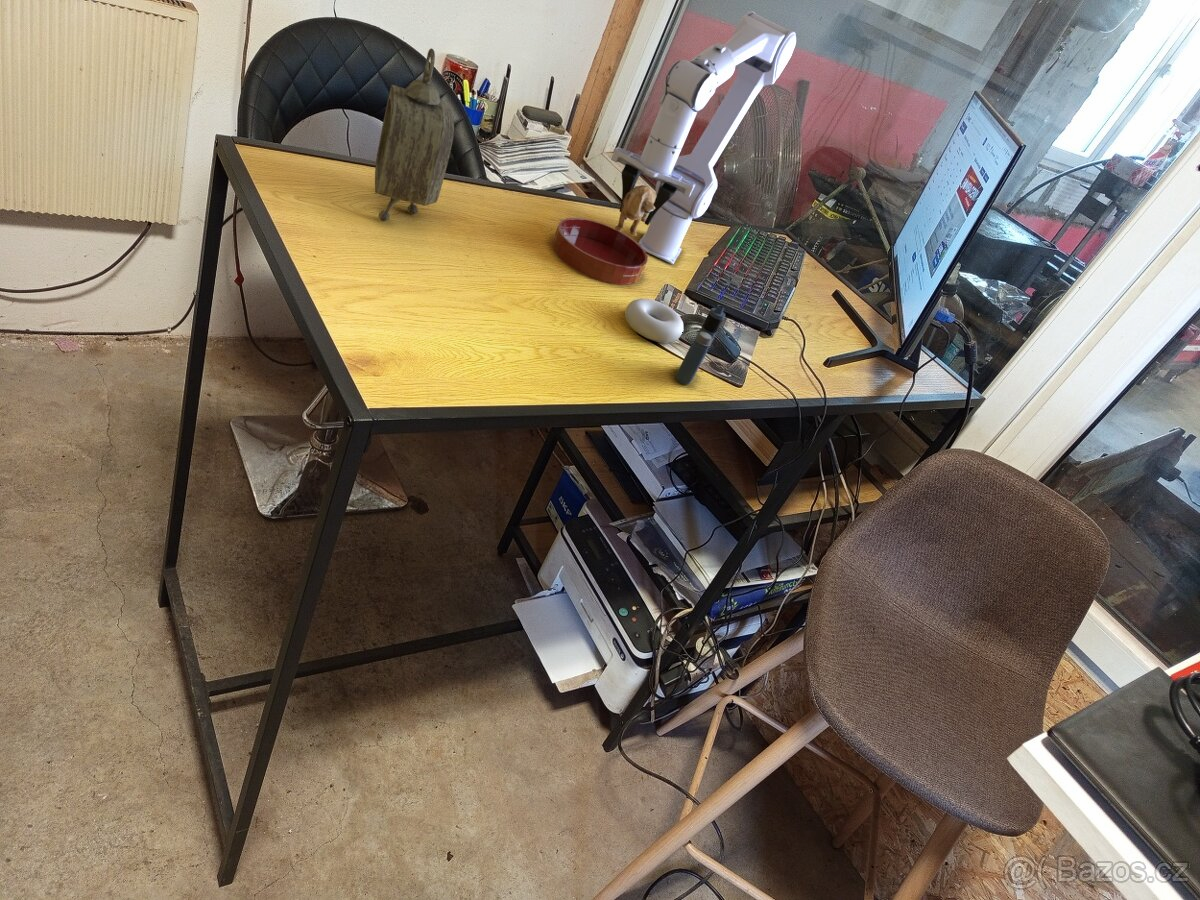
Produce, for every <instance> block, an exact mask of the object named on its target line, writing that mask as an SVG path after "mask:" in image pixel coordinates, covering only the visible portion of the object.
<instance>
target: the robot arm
mask: <svg viewBox="0 0 1200 900" xmlns="http://www.w3.org/2000/svg"><path fill="white" fill-rule="evenodd" d="M796 44H797V35H796V32H795V31H793V30H789V29H787V28H785V27H784V26H781V25H779V24H777V23H775V22H773V21H771V20H769V19H767V18H765V17H763V16H762V15H759V14H758V13H756V12H755V11H753V10H749V11H747V12H746V13H744V14H743V15H742V16H741V17H740V19H739V20H738V22H737V24H736V26H735V29H734V32H733V35H732V37H731V38H730V39H729V40H727V41H726V42H725V43H724V44H722V43H720V42H717V43H715V44H712V45H710V46H709V47H708V48H705V50H703V51H702V52H700V53H699V54H698V55H696V56H694V57H693V58H692V59H691V60H687V59H682V60H676V61H675V62H674V63H673V64H672V65H671V66H670V68H669V70H668V71H667V74H666V75H665V77H664V81H663V83H662V84H663V85H662V93H661V95H660V96H661V97H660V98H659V103H658V105H659V106H660V107H659V110H658V113H657V115H656V117H655V121H654V122H653V125H652V128H651V130H650V133H649V136H648V137H647V141H646V143H645V145H644V148H643V150H642V153H641V155H639V154H638V153H634V152H633V151H632V152H631V151H629V150H626V149H624V148H621V147H619V146H617V147H616V148H614V150H613V153H612V156H611V158H610V160H611V161H612V162H614V163H620V164H622V165H623V169H622V170H621V184H622V185H621V187H622V190H621V191H622V192H621V201H620V208H619V213H621V211H622V204H623V200H624V198H625V195H626V194H627V193H628V192H630V191H631V190H632V189H633V188H635V187H636V184H637V182H638V179H639V178H640V175H641V174H642V175H644V176H646V177H649V178H651V179H653V180H655V181H656V184H655V195H656V196H655V199H654V201H653V205H654V206H655V209H654V210H653V211H651V212H650V213H649V215H647V218H646V221H645V222H643V224H644V225H646V226H648V227H647V229H646V232H645V233H644V234H643V236H642V237H641V238H640V240H639V241H638V242H637V243H638V244H639V245H640V246H641V247H642V248H643V249H644V251H645V252H646V253H648V254H650V255H651V256H654V257H656V258H657V259H659V260H663V261H665V262H667V263H669V264H671V265H674V264H675V262H676V260H677V259H678V257H679V255H680V253H681V252H682V247H681V245H682V243H683V241H684V238H685V236H686V234H687V231H688V230H689V228H690V225H691V224H692V220H693V219H698V218H700V217H702V216H703V215H704V214H705V213H706V212H707V210H708V208H709V206H710V204H711V203H712V200H713V197H714V194H715V193H716V191H717V189H718V179H717V176H716V174H715V172H714V166H715V165H716V163H717V162H718V160H719V158H720V157H721V154H722V153H723V152H724V150H725V148H726V146H727V145H728V143H729V142H730V140H731V138H732V137H733V135H734V133H735V132H736V130H737V129H738V127H739V125H740V124H741V122H742V120H743V119H744V117H745V115H746V114H747V112H748V111H749V109H750V107H751V105H752V104H753V102H754V101H755V99H756V97H757V96H758V94H759V93H760V92H761V91H762V88H763V87H764V86H771V85H774V84H775V82H776V81H777V80H778V79H779V77H780V76H781V74H782V72H783V71H784V69H785V67H786V66H787V64H788V63H789V61H790V59H791V57H792V56H793V52H794V49H795V48H796ZM735 70H736V71H737V74H736V78H735V79H734V80H733V83H732V84H731V86H730V87H729V89H728V91H727V92H726V94H725V95H724V98H723V99H722V101H721V102H720V105H718V108H717V109H716V111H715V112H714V114H713V116H712V117H711V120H709V123H708V124H707V126H706V127H705V129H704V131H703V133H701V136H700V137H699V139H698V141H697V142H696V144H695V146H694V148H693V149H692V151H691V152H690V153H689V154H685V155H684V154H683V155H680V153H681V151H682V149H683V146H684V144H685V142H686V140H687V137H688V135H689V132H690V130H691V128H692V126H693V124H694V121H695V119H696V116H697V114H698V112H699V111H701V110H703V109H704V108H705V107H706V105H707V104H708V102H709V101H710V99H711V98H712V97H713V96H714V94H715V93H716V89H717V88H718V87H719V86H721V85H722V84H724V83H726V81H728V80H729V79H730V78H732V76H733V75H734V73H735Z"/></svg>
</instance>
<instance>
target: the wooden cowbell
mask: <svg viewBox="0 0 1200 900" xmlns="http://www.w3.org/2000/svg"><path fill="white" fill-rule="evenodd" d="M435 61H436V53H435V50H434V48H429V49H428V51H427V55H426V60H425V66H424V70H423V76H422V79H415V80H413V81H412V82H410V83H409V84H408V85H407V86H406V88H404V87H401V86H398V85H395V84H391V85H390V88H389V93H388V97H387V101H386V107H385V111H384V116H383V121H382V127H381V131H380V137H379V142H378V146H377V147H378V148H377V151H376V152H377V153H376V159H375V166H374V167H375V168H374V191H375V195H381V196H384V197H388V198H390V199H389V202H388V204H387V205H386V207H385V210H384V209H383V210H380V212H378V219H379V220H380V221H382V222H387V221H388V220H389V219H390V210H392V209H393V206H394V205H395V204H397V203H398V202H399V201H403V202H407V203H410V204H409V205H408V206H407V211H408V213H409V214H410V215H416V214H417V213H418V211H419V209H418V206H417V205H419V206H423V207H425V206H429V205H433V204H435V203H438V201H439V197H440V194H441V191H442V187H443V184H444V179H445V175H446V171H447V168H448V164H449V159H450V156H451V151H452V146H453V142H454V137H455V124H454V123H455V122H454V118H453V114H452V111H451V109H450V108H449V107H448V106H447V105H446V103H444V102H443V101H442V100H441V97H440V93H439V91H438V89H437V88H436V86H435V85H434V84H432V83H431V80H432V78H433V72H434V68H435Z"/></svg>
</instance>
